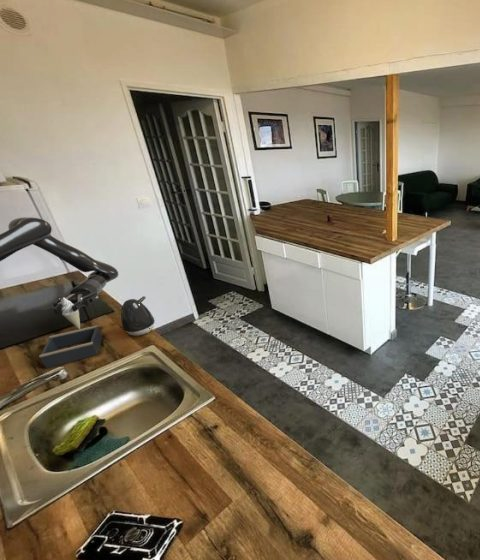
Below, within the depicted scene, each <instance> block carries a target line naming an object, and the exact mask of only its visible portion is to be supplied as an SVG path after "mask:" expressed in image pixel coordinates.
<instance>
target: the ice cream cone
mask: <svg viewBox="0 0 480 560" xmlns="http://www.w3.org/2000/svg"><path fill="white" fill-rule="evenodd" d="M62 299H63V303H62V305H63V306H62V309H61V311H60V312H61V315H62V316H63V317H64V318H65V319H66V320H67V321H69V322H70V323H71V324H72V325H73V326H74V327H76V329H77V330H79V329H81V319H80V308H79V309H78V310H77V311H73V309H72V306H73V305H74V304H72V303H71V302H70V301H68V300H67V299H65V296H63V297H62Z"/></svg>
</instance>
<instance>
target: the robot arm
mask: <svg viewBox="0 0 480 560" xmlns="http://www.w3.org/2000/svg"><path fill="white" fill-rule="evenodd" d="M7 228H8V230H6V231H4V232H2V233H0V262H2V261H4V260H5V259H7V258H9V257H10V256H12V255H14V254H15V253H17V252H19V251H21V250H23V249H25V248H27V247H30V246H32V245H34V246H35V247H38V248H40V249H42V250H44V251H46V252H48V253H50V254H51V255H53V256H55V257H57V258H58V259H60V260H62V261H64V262H65V263H67V264H69V265H71V266H72V267H74V268H75V269H77V270H78V271H80V272H82V273H89V272H91V273H89V274H88V276H87V277H86V278H85V279H84V280H83V281H81V282H79V283H78V284H77V285H76V286H74V287H73V288H72V289H71V290H70V292H69V294H68V295H67V296H64V298H65V299H67V300H68V301H70V302H71V303H72V304H74V305H73V306H72V309H73V311H77V310H78V309H79V310H80V308H83V307H85V306H90V305H93V303H95V302H96V301H98V300H100V297H99V294H100V292H101V291H102V290H103V289H104V288H105V287H106V286H107V283H109V282H112V281H113V280H116V279H117V278H118V277H119V271H118V269H117V268H115V267H114V266H112V265H111V264H108V263H105V262H104V261H103V262H102V261H100V260H97V259H94V258H93V257H92V256H89V255H88V254H87V253H85V252H83V251H82V250H80V249H78V248H76V247H74V246H72V245H69V244H67V243H65V242H64V241H61V240H59V239H58V238H56V237H54V236H52V230H53V229H52V226H51V224H50V223H49V222H48V221H47V220H45V219H42V218H38V217H25V216H24V217H17V218H14V219H12V220H11V221H10V222H9V223H8V225H7ZM62 303H63V298H61V297H56V298H55V299H54V301H53V302H52V306H53V308H52V310H53V312H54V313H55V314H60V313H61V312H62V311H61V309H62V306H63V305H62Z"/></svg>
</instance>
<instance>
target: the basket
mask: <svg viewBox="0 0 480 560" xmlns="http://www.w3.org/2000/svg"><path fill="white" fill-rule="evenodd" d="M102 340H103V333H102V332H101V330H100V327H99V325H93V326H88V327H84V328H80V329H76V330H70V331H67V332H61V333H58V334H53V335H49V337H48V340H47V342H46V344H45V345H44V347H43V350H42V352H41V353H40V354H39V355H38V357H39V359H40V360H41V362H42V364H43V365H44V367H45V368H46V369H49V368H53V367H56V366H61V365H63V364H67V363H71V362H75V361H79V360H82V359H86V358H90V357H91V358H92V357H94V356H98V355H99V351H100V347H101V343H102ZM85 342H86V343H85ZM80 343H81V344H80ZM77 344H78V345H77ZM72 345H74V346H72ZM70 346H71V347H70ZM60 348H61V349H60Z"/></svg>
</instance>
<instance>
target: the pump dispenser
mask: <svg viewBox="0 0 480 560" xmlns="http://www.w3.org/2000/svg"><path fill="white" fill-rule="evenodd" d="M145 299H147V297H146V296H144V295H143V296H141V297H140V298H139V299H136V298H129V299H127V300H125V301H124V302H123V304H122V305H121V309H120V321H121V326H122V329H123V331H124V332H125V333H127V334H128V335H130V336H134V337H140V336H143V335H147V334H148V333H150V332H151V331H152V330H153V328H154V327H155V322H156V321H155V320H156V319H155V317H154V316H153V313H151V311H150V310H149V308H148V307H147V306H146V305H145V304H143V301H145ZM149 328H150V329H149Z"/></svg>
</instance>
